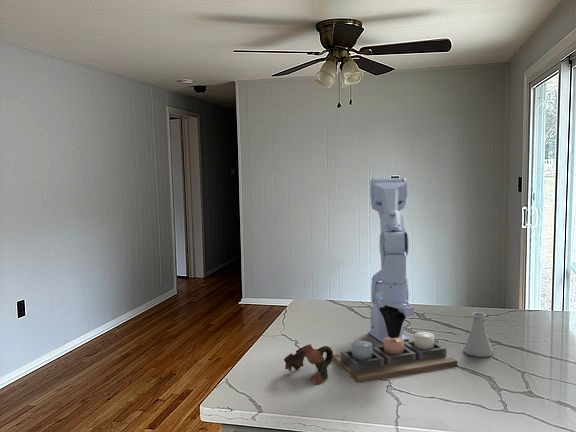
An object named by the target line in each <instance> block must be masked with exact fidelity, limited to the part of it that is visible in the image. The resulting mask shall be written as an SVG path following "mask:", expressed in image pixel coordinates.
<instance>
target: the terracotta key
mask: <svg viewBox="0 0 576 432" xmlns="http://www.w3.org/2000/svg"><path fill="white" fill-rule="evenodd" d="M404 342H405V340H404V339H403V338H400V337H399V338H390V337H385V338H384V343H383V345H384V353H386V354H387V355H389V356H392V355H399V354H404Z"/></svg>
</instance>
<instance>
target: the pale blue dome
mask: <svg viewBox="0 0 576 432" xmlns="http://www.w3.org/2000/svg"><path fill="white" fill-rule="evenodd" d="M372 347H373V344H372V342H370V341H366V340H357V341H353V342H352V343H351V350H352V358H353V359H354V360H356V361H362V360H368V359H372Z"/></svg>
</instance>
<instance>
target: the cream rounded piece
mask: <svg viewBox="0 0 576 432" xmlns="http://www.w3.org/2000/svg"><path fill="white" fill-rule="evenodd" d="M413 341H414V347H415V348H417V349H418V350H420V351H423V350H429V349H434V342H435V334H433V333H432V332H429V331H418V332H415V333H413Z"/></svg>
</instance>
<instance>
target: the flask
mask: <svg viewBox="0 0 576 432" xmlns="http://www.w3.org/2000/svg"><path fill="white" fill-rule="evenodd" d="M471 316H472V325H471V330H470V332H469V335H468V338H467V340H466V342H465V345H464V348H463V350H462V351H463V353H465V354H466V355H468V356H472V357H478V358H480V357H481V358H485V357H492V356H493V354H494V350H493V347H492V345H491V342H490V339H489V336H488V333H487V330H486V326H485V324H486V323H485V317H486V314H485V313H484V312H472V314H471Z"/></svg>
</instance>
